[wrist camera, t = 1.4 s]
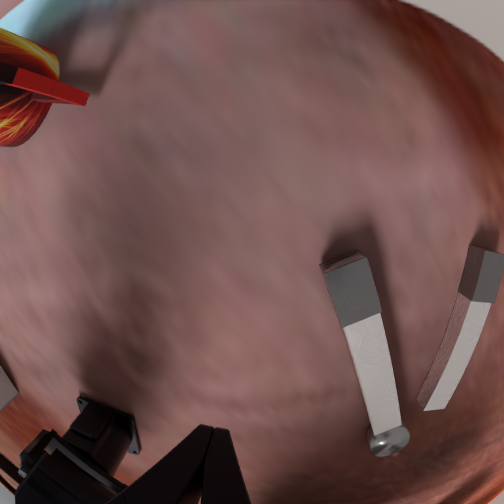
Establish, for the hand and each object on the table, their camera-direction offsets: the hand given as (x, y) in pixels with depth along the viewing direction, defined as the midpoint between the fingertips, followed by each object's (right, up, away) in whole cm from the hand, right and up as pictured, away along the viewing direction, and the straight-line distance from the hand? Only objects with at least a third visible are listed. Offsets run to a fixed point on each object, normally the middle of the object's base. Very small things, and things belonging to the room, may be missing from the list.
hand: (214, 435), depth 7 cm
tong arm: (+10, -4, +12) cm, 16 cm away
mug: (-17, +19, +10) cm, 28 cm away
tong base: (+17, -1, +11) cm, 20 cm away
